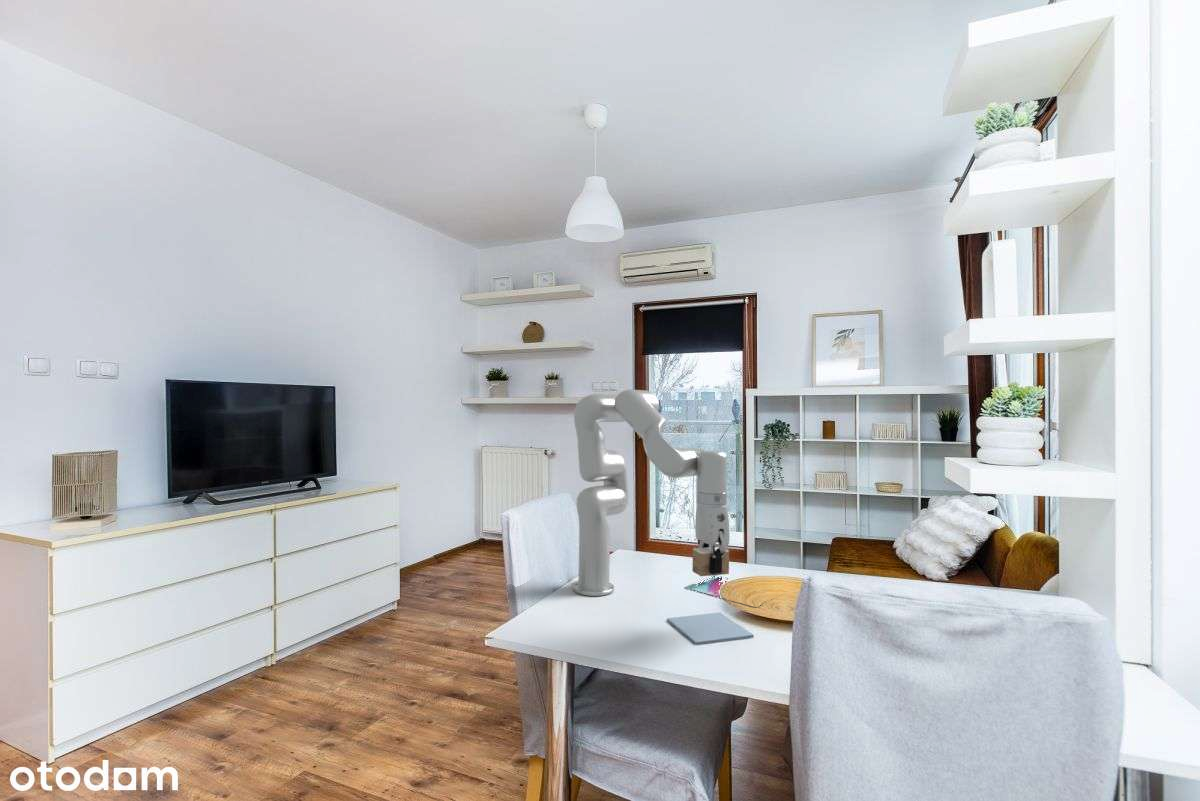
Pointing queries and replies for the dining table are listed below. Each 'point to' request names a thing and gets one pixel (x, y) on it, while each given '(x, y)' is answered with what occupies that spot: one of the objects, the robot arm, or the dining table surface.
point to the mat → (709, 628)
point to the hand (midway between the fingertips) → (710, 569)
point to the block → (708, 561)
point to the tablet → (708, 586)
